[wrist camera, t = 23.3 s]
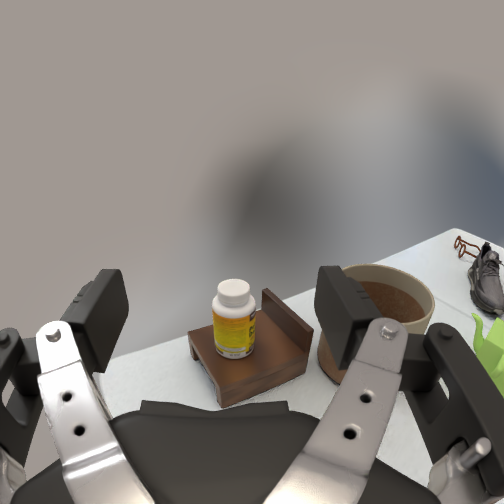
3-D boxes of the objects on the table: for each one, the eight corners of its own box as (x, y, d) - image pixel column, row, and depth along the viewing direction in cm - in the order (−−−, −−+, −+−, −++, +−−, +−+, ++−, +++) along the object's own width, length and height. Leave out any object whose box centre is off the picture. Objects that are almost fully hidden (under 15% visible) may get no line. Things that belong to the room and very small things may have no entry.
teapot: (524, 402, 26) (556, 358, 21) (476, 415, 28) (511, 368, 23) (497, 349, 40) (519, 306, 35) (451, 352, 42) (473, 306, 37)
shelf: (221, 408, 35) (217, 367, 31) (190, 354, 44) (184, 310, 40) (305, 372, 41) (314, 329, 37) (264, 329, 50) (267, 287, 47)
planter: (382, 324, 51) (400, 261, 45) (420, 381, 37) (454, 314, 31) (306, 333, 49) (316, 265, 44) (332, 404, 35) (357, 332, 29)
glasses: (453, 246, 88) (456, 233, 85) (481, 253, 82) (484, 241, 80) (459, 260, 77) (463, 246, 75) (490, 268, 72) (494, 254, 70)
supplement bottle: (254, 361, 37) (257, 300, 33) (213, 360, 37) (208, 299, 33) (254, 334, 42) (255, 275, 38) (216, 333, 42) (213, 274, 38)
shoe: (474, 316, 50) (493, 271, 45) (462, 268, 72) (473, 233, 66) (506, 325, 46) (526, 281, 40) (488, 276, 67) (499, 241, 62)
